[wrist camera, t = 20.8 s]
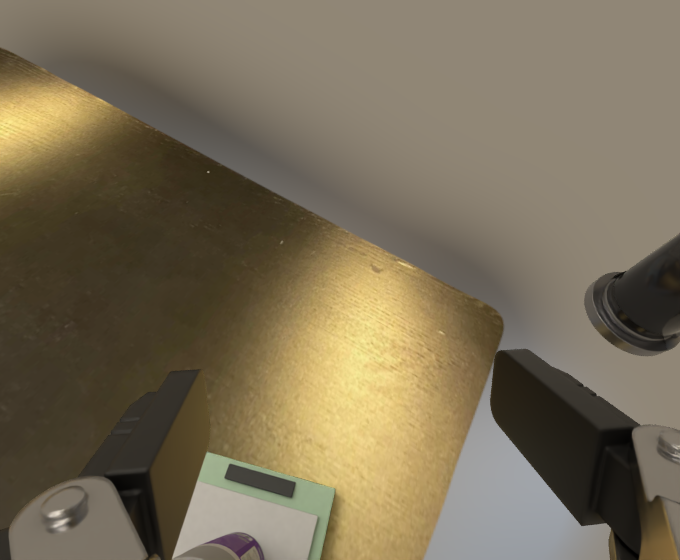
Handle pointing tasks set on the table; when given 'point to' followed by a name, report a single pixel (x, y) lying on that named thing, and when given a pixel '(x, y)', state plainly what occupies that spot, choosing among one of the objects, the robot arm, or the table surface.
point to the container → (226, 549)
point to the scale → (257, 509)
